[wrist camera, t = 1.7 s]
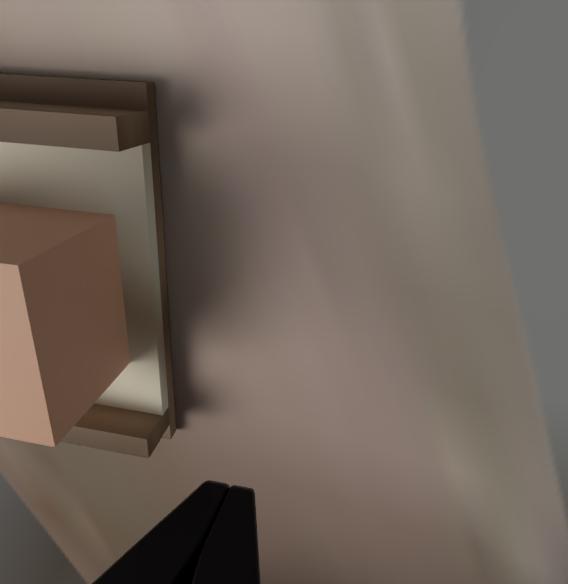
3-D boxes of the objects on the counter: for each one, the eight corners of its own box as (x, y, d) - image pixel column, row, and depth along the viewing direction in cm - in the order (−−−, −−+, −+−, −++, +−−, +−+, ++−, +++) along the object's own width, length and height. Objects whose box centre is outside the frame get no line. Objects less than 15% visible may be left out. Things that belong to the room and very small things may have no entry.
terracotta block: (130, 362, 16) (54, 447, 12) (-5, 341, 17) (-112, 415, 13) (114, 214, 14) (18, 265, 10) (-39, 198, 14) (-179, 240, 11)
